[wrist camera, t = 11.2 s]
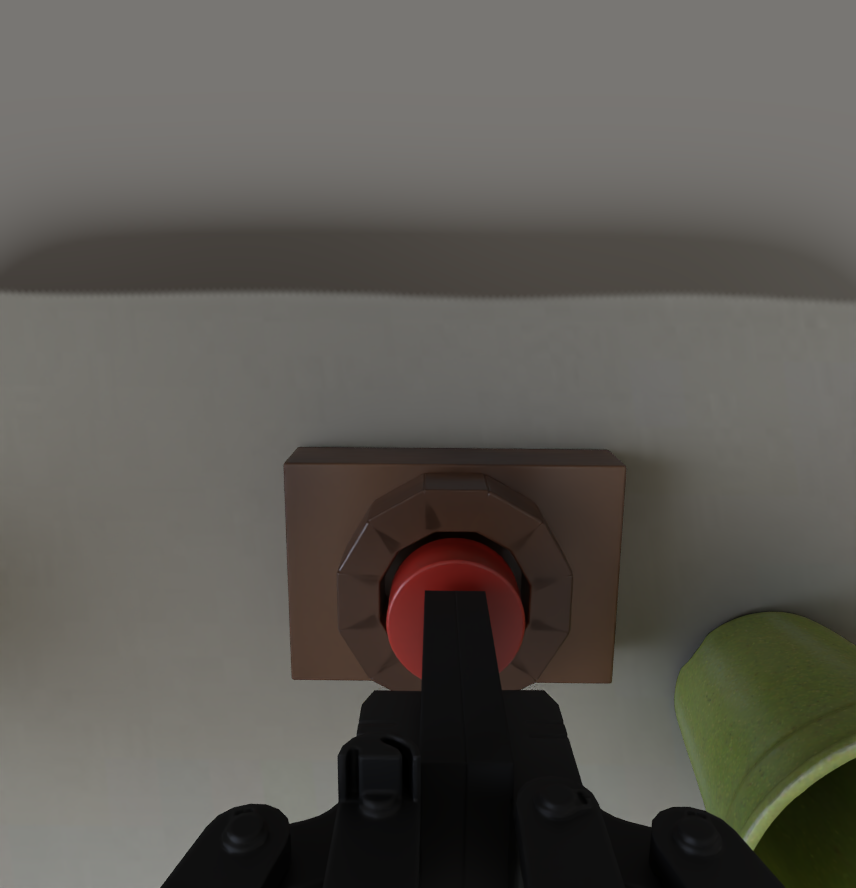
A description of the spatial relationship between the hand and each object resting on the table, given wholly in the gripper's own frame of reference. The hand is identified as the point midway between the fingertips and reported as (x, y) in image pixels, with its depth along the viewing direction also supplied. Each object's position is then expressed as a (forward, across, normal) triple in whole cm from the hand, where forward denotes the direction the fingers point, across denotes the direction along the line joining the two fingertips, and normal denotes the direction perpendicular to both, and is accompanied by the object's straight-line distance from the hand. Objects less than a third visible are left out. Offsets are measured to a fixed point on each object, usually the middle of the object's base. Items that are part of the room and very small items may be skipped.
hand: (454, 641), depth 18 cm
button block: (+6, 0, 0) cm, 6 cm away
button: (+2, 0, 0) cm, 2 cm away
